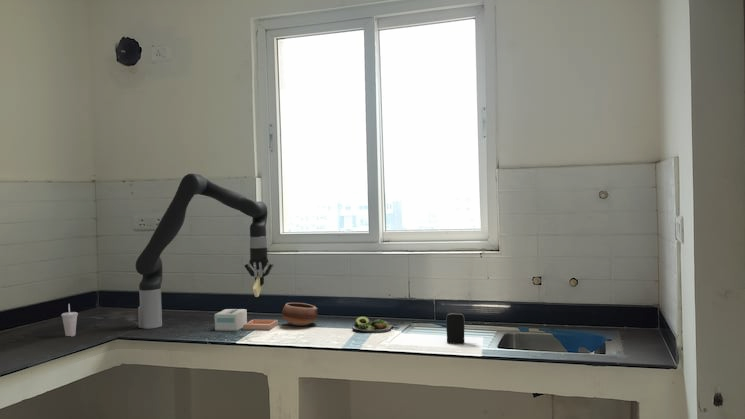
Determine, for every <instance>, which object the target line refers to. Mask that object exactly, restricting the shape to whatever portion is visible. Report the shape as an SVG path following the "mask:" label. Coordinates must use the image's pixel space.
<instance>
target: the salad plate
mask: <svg viewBox="0 0 745 419" xmlns="http://www.w3.org/2000/svg"><path fill="white" fill-rule="evenodd" d="M396 326H399V324H397V323H393V322H388V321H387V320H384V319H379V318H378V319H374V320H373V321H372V320H370V318H368V317H367V316H357V317H356V319H355V323H354V324H353V325H352V328H351V330H352V331H353V332H355V333H359V332H360V333H361V334H368V333H369V334H370V333H371V334H372V333H373V334H374V333H386V332H389V331H391V329H392V328H393V327H396Z"/></svg>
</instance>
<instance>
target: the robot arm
mask: <svg viewBox="0 0 745 419" xmlns="http://www.w3.org/2000/svg"><path fill="white" fill-rule="evenodd" d="M196 195H201V196H205V197H209V198H211V199H213V200H216V201H217V202H219V203H220V204H223V205H225V206H226V207H229V208H231V209H233V210H236V211H239V212H241V213H243V214H244V215H246V216H249V217H251V218H252V222H251V224H250V225H249V262H248V263H247V264H244V267H245V269H246V270H247V272H248V274H249V275H250V277H254V282H255V281H256V279H257V276H258V274H260V286H262V287H263V286H264V284H265V277H266V276H269V273H270V272H271V271H272V269H273V267H274V263H270V262H269V258H268V239H267V220H268V207H267V204H266V203H264V202H263V201H254V200H252V199H249V198H248V197H247V196H245V195H244V194H241V193H239V192H236V191H233V190H230V189H227V188H225V187H222V186H220V185H218V184H216V183H214V182H212V181H211V180H209V179H207V178H206V177H205V176H202V175H201V174H199V173H198V174H197V173H187V174H185V175H184V176H183V177H182V179H181V181H180V183H179V185H178V188H177V190H176V192H175V194H174V197H173V198H172V200H171V202H170V204H169V205H168V207H167V209H166V211H165V212H164V214H163V216H162V217H161V219H160V220H159V223H158V224H157V226H156V229H155V230H154V232H153V234H152V236H151V237H150V240H149V241H148V243H147V245H146V246H145V248H144V249H143V250H142V251H141V253H140V255H139V256H138V258H137V259H136V261H135V269H136V273H138V274H139V275H141V276H142V279H141V281H140V282H139V285H138V286H139V290H138V292H139V306H138V307H137V314H138V315H137V316H138V328H141V329H147V330H148V329H157V328H161V327H162V326H163V314H162V313H163V311H162V310H163V309H162V308H163V307H162V305H163V304H162V282H163V260H162V257H161V255H162V253H163V251H164V250H165V249H166V248H167V247H168V245H170V243H171V242H172V241H173V240H174V239H175V238H176V236H177V235H178V233H179V232H180V230H181V229H182V227H183V224H184V222H185V218H186V213H187V208H188V206H189V204H190V202H191V201H192V199H193V197H195V196H196ZM266 267H267V268H266ZM265 268H266V270H265Z"/></svg>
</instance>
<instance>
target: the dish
mask: <svg viewBox="0 0 745 419" xmlns="http://www.w3.org/2000/svg"><path fill="white" fill-rule="evenodd" d="M278 325H279V320H278V319H251V320H249V321H247V323H246V324H244V325H243V327H242V328H243V331H271V330H273V329H274V328H276V327H277V326H278Z"/></svg>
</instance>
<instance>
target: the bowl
mask: <svg viewBox="0 0 745 419" xmlns="http://www.w3.org/2000/svg"><path fill="white" fill-rule="evenodd" d="M281 316H282V318H283V319H284V320H285V321H286V322H287V323H289V324H291V325H293V326H299V327H303V326H308V325H310V324H312V323H314V322H315V321H316V320H317V318H318V307H316V305H312V304H309V303H304V302H286V303H285V305H284V306H283V309H282V311H281Z"/></svg>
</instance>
